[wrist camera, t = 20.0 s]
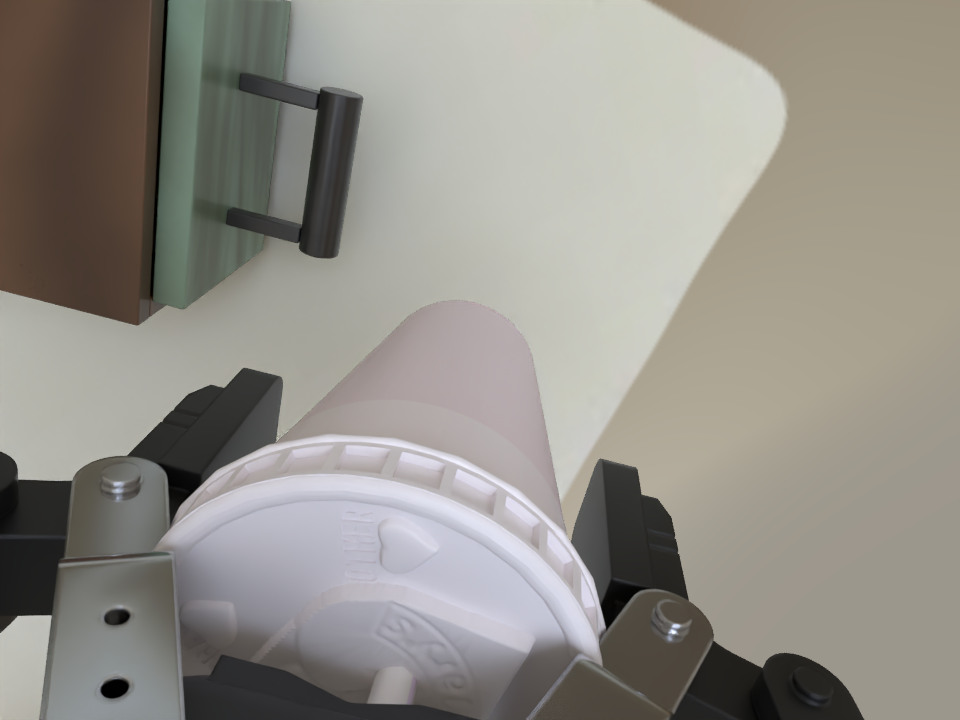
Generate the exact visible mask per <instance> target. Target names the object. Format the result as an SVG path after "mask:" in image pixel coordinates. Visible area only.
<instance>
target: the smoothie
mask: <svg viewBox="0 0 960 720" xmlns="http://www.w3.org/2000/svg"><path fill="white" fill-rule="evenodd" d="M166 550H175V555H176V570H177V587H178V604H179V621H180V638H181V655H182V672H183V676H196V675H210V674H211V673H212V671H213V669H214V667H215V665H216V663H217V661H218V660H219V658H220V656H221V654H222V655H226V656H230V657H234V658H238V659H242V660H246V661H250V662H254V663H258V664H261V665H265V666H269V667H273V668H277V669H281V670H285V671H288V672H290V673H292V674H294V675H296V676H297V677H299V678H301V679H303V680H305V681H307V682H309V683H311V684H313V685H315V686H317V687H319V688H321V689H323V690H325V691H327V692H328V693H330V694H332V695H334V696H336V697H338V698H340V699H342V700H344V701H347V702H351V703H365V704H406V705H424V706H428V707H432V708H436V709H439V710H443V711H447V712H451V713H455V714H459V715H463V716H467V717H471V718H475V719H479V720H526V719H527V718H528V716H529V715H530V714H531V713H532V711H533V710H534V709H535V707H536V706H537V705H538V704H539V702H540V701H541V700H542V699H543V697H544V696H545V695H546V693H547V692H548V691H549V690H550V688H551V687H552V686H553V685H554V683H555V682H556V681H557V680H558V678H559V677H560V676H561V674H562V673H563V672H564V671H565V669H566V668H567V667H568V666H569V664H570V663H571V662H572V660H573V659H574V658H575V657H576V656H577V655H578V654H579V653H582V654H584V655H585V656H587V657H588V658H590V659H591V660H593V661H594V662H596V663H597V664H599V665H600V666H602V667H603V664H602V657H601V652H600V648H599V640H600V639H601V637H602V636H603V635H604V633H605V632H606V626H605V622H604V618H603V614H602V610H601V606H600V602H599V598H598V595H597V591H596V587H595V583H594V579H593V577H592V575H591V574H590V572H589V571H588V569H587V567H586V566H585V564H584V563H583V561H582V559H581V558H580V556H579V554H578V553H577V551H576V550H575V548H574V546H573V545H572V543H571V541H570V540H569V538H568V537H567V533H566V527H565V524H564V519H563V515H562V510H561V505H560V499H559V494H558V489H557V484H556V478H555V473H554V468H553V462H552V457H551V452H550V447H549V441H548V436H547V431H546V426H545V420H544V415H543V410H542V404H541V399H540V394H539V389H538V383H537V378H536V373H535V367H534V362H533V358H532V354H531V351H530V348H529V346H528V344H527V342H526V340H525V339H524V337H523V335H522V334H521V333H520V331H519V330H518V329H517V328H516V327H515V326H514V324H513V323H511V322H510V321H509V320H508V319H507V318H505V317H504V316H503V315H501V314H500V313H498V312H497V311H495V310H493V309H491V308H489V307H486V306H484V305H481V304H477V303H474V302H468V301H443V302H438V303H434V304H430V305H428V306H425V307H423V308H421V309H419V310H417V311H415V312H414V313H413V314H411V315H410V316H409V317H407V318H406V319H405V320H404V321H403V322H402V323H401V324H400V325H399V326H398V327H397V328H396V329H395V330H394V331H393V332H391V333H390V334H389V335H388V336H387V337H386V338H385V339H384V340H383V341H382V342H381V343H380V344H379V345H378V346H377V347H376V348H375V349H374V350H373V351H372V352H371V353H370V354H369V355H368V356H367V357H365V358H364V359H363V360H362V361H361V362H360V363H359V364H358V365H357V366H356V367H355V368H354V369H353V370H352V371H351V372H350V373H349V374H348V375H347V376H346V377H345V378H344V379H343V380H342V381H341V382H340V383H338V384H337V385H336V386H335V387H334V388H333V389H332V390H331V391H330V392H329V393H328V394H327V395H326V396H325V397H324V398H323V399H322V400H321V401H320V402H319V403H318V404H317V405H316V406H315V407H314V408H312V409H311V410H310V411H309V412H308V413H307V414H306V415H305V416H304V417H303V418H302V419H301V420H300V421H299V422H298V423H297V424H296V425H295V426H294V427H293V428H292V429H291V430H289V431H288V432H287V433H286V434H285V435H284V436H282V437H281V438H280V439H279V440H278V441H277V442H276V443H274V444H269V445H266V446H264V447H262V448H260V449H258V450H256V451H254V452H252V453H250V454H248V455H246V456H244V457H242V458H240V459H238V460H236V461H234V462H232V463H230V464H228V465H226V466H224V467H222V468H220V469H218V470H216V471H215V472H214V473H213V474H212V475H211V476H210V477H209V478H208V479H207V480H206V481H205V482H204V483H203V484H202V485H201V486H200V487H199V488H198V489H197V490H196V491H195V492H194V493H193V494H192V495H191V496H190V497H188V498H187V499H186V500H185V501H184V502H183V503H182V504H181V505H180V507H179V509H178V511H177V513H176V515H175V517H174V519H173V521H172V523H171V525H170V530H169V531H168V532H167V533H166V534H165V535H164V536H163V537H162V539H161V540H160V541H159V543H158V544H157V546H156V547H155V548H154V550H153V551H166Z"/></svg>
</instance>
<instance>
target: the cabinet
mask: <svg viewBox="0 0 960 720" xmlns="http://www.w3.org/2000/svg"><path fill="white" fill-rule="evenodd" d="M164 1H165V0H0V290H2V291H6V292H9V293H13V294H17V295H21V296H25V297H29V298H33V299H37V300H40V301H44V302H48V303H52V304H56V305H60V306H64V307H67V308H71V309H75V310H79V311H83V312H87V313H91V314H94V315H98V316H102V317H106V318H110V319H114V320H118V321H122V322H125V323H129V324H133V325H140V324H141V323H142V322H144V321H145V320H147V319H148V318H149V317H150V316H152V315H153V314H155V313H156V312H157V311H159V310H160V309H162V308H163V307H164V306H166V305H164V304H160V303H156V302H153V285H154V265H155V253H153V254H152V243H153V222H154V202H155V182H156V162H157V142H158V122H159V101H160V81H161V61H162V41H163V21H164Z"/></svg>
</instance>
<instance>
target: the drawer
mask: <svg viewBox="0 0 960 720" xmlns="http://www.w3.org/2000/svg"><path fill="white" fill-rule="evenodd" d="M290 8H291V2H290V1H286V0H165V1H164V21H163V41H162V61H161V81H160V101H159V122H158V142H157V162H156V182H155V202H154V222H153V243H152V254H153V253H155V265H154V285H153V302H156V303H160V304H164V305H168V306H172V307H175V308H179V309H185V308H187V307H188V306H189V305H191V304H192V303H193V302H195V301H196V300H197V299H199V298H200V297H201V296H203V295H204V294H205V293H206V292H208V291H209V290H210V289H212V288H213V287H214V286H216V285H217V284H218V283H220V282H221V281H222V280H224V279H225V278H226V277H228V276H229V275H230V274H231V273H233V272H234V271H235V270H237V269H238V268H239V267H241V266H242V265H243V264H245V263H246V262H247V261H249V260H250V259H251V258H252V257H254V256H255V255H256V254H258V253H259V252H260V251H262V250H263V243H264V235H267V236H271V237H275V238H279V239H283V240H287V241H291V242H294V243H299V242H300V243H299V249H300V251H301V252H303V253H305V254H307V255H309V256H313V257H317V258H334V257H336V256H337V255H338V253H339V246H340V240H341V234H342V228H343V221H344V215H345V209H346V203H347V196H348V190H349V184H350V178H351V171H352V165H353V159H354V153H355V146H356V140H357V134H358V128H359V121H360V115H361V109H362V102H363V97H362V96H361V95H359V94H357V93H354V92H351V91H348V90H344V89H339V88H333V87H322V88H321V89H320V91H317V90H313V89H309V88H305V87H301V86H297V85H294V84H290V83H286V82H282V78H283V69H284V60H285V52H286V43H287V34H288V26H289V17H290ZM280 101H282V102H286V103H290V104H293V105H297V106H301V107H305V108H309V109H313V110H317V109H318V111H317V118H316V126H315V133H314V140H313V148H312V155H311V162H310V170H309V177H308V185H307V192H306V199H305V207H304V214H303V221H302V225H301V224H297V223H293V222H290V221H286V220H282V219H278V218H274V217H270V216H267V208H268V200H269V191H270V182H271V174H272V165H273V156H274V147H275V139H276V130H277V121H278V113H279V104H280Z"/></svg>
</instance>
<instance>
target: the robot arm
mask: <svg viewBox="0 0 960 720" xmlns="http://www.w3.org/2000/svg"><path fill="white" fill-rule="evenodd" d="M282 389H283V380H282V378H281V377H280V376H276V375H272V374H268V373H264V372H260V371H256V370H252V369H248V368H243V369H242V370H241V371H240V372H239V373H238V374H237V375H236V376H235V377H234V378H233V379H232V381H231V382H230V383H229V384H228V385H227V386H226V387H225V388H222V387H218V386H214V385H209V386H207V387H204V388H202V389H200V390H197V391H195V392H192V393H190V394H188V395H187V396H186V397H185V398H184V399H183V400H182V401H181V402H180V403H179V404H178V405H177V406H176V407H175V409H174V411H171V412H170V413H169V414H168V415H167V416H166V417H165V418H164V420H163V422H160V423H159V424H158V425H157V426H156V427H155V428H154V429H153V430H152V431H151V432H150V433H149V434H148V435H147V436H146V437H145V438H144V439H143V440H142V441H141V442H140V443H139V444H138V445H137V446H136V447H135V448H134V449H133V450H132V451H131V452H130V453H129V454H128V455H127V456H115V457H108V458H103V459H100V460H97V461H94V462H91V463H89V464H88V465H86V466H84V467H83V468H81V469H80V470H79V471H78V472H77V473H76V474H75V476H74V478H73V481H40V480H18V469H17V464H16V463H15V461H14V460H13V459H12V458H11V457H10V456H8V455H7V454H5V453H2V452H0V633H1V632H2V631H3V630H4V629H5V628H6V627H7V626H8V625H9V624H11V623H12V622H13V621H14V620H15V618H16V617H17V616H28V615H52V619H51V628H50V636H49V644H48V653H47V661H46V669H45V677H44V686H43V694H42V702H41V710H40V719H39V720H479V719H475V718H471V717H467V716H463V715H459V714H455V713H451V712H447V711H443V710H439V709H436V708H432V707H428V706H424V705H406V704H365V703H351V702H347V701H344V700H342V699H340V698H338V697H336V696H334V695H332V694H330V693H328V692H327V691H325V690H323V689H321V688H319V687H317V686H315V685H313V684H311V683H309V682H307V681H305V680H303V679H301V678H299V677H297V676H296V675H294V674H292V673H290V672H288V671H285V670H281V669H277V668H273V667H269V666H265V665H261V664H258V663H254V662H250V661H246V660H242V659H238V658H234V657H230V656H226V655H222V654H221V656H220V658H219V660H218V661H217V663H216V665H215V667H214V669H213V671H212V673H211V674H210V675H196V676H183V672H182V655H181V638H180V621H179V604H178V587H177V570H176V555H175V550H166V551H153V550H154V548H155V547H156V546H157V544H158V543H159V541H160V540H161V539H162V537H163V536H164V535H165V534H166V533H167V532H168V531H169V530H170V525H171V523H172V521H173V519H174V517H175V515H176V513H177V511H178V509H179V507H180V505H181V504H182V503H183V502H184V501H185V500H186V499H187V498H188V497H190V496H191V495H192V494H193V493H194V492H195V491H196V490H197V489H198V488H199V487H200V486H201V485H202V484H203V483H204V482H205V481H206V480H207V479H208V478H209V477H210V476H211V475H212V474H213V473H214V472H215V471H216V470H218V469H220V468H222V467H224V466H226V465H228V464H230V463H232V462H234V461H236V460H238V459H240V458H242V457H244V456H246V455H248V454H250V453H252V452H254V451H256V450H258V449H260V448H262V447H264V446H266V445H269V444H274V443H275V442H276V435H277V427H278V419H279V412H280V404H281V397H282ZM571 543H572V545H573V546H574V548H575V550H576V551H577V553H578V554H579V556H580V558H581V559H582V561H583V563H584V564H585V566H586V567H587V569H588V571H589V572H590V574H591V575H592V577H593V579H594V583H595V587H596V591H597V595H598V598H599V602H600V606H601V610H602V614H603V618H604V622H605V626H606V632H605V633H604V635H603V636H602V637H601V639H600V640H599V648H600V652H601V657H602V664H603V667H602V666H600V665H599V664H597V663H596V662H594V661H593V660H591V659H590V658H588V657H587V656H585V655H584V654H582V653H579V654H578V655H577V656H576V657H575V658H574V659H573V660H572V662H571V663H570V664H569V666H568V667H567V668H566V669H565V671H564V672H563V673H562V674H561V676H560V677H559V678H558V680H557V681H556V682H555V683H554V685H553V686H552V687H551V688H550V690H549V691H548V692H547V693H546V695H545V696H544V697H543V699H542V700H541V701H540V702H539V704H538V705H537V706H536V707H535V709H534V710H533V711H532V713H531V714H530V715H529V716H528V718H527V719H526V720H864V719H863V717H862V715H861V713H860V711H859V709H858V707H857V705H856V703H855V701H854V700H853V698H852V696H851V694H850V693H849V691H848V690H847V688H846V687H845V686H844V685H843V683H842V682H841V681H840V680H839V679H838V678H837V677H836V676H834V675H833V674H832V673H831V672H830V671H828V670H827V669H826V668H824V667H823V666H821V665H820V664H818V663H816V662H814V661H812V660H810V659H808V658H805V657H802V656H799V655H796V654H790V653H779V654H775V655H773V656H771V657H770V658H769V659H768V660H767V661H766V663H765V665H764V667H763V668H761V667H759V666H757V665H755V664H753V663H751V662H749V661H747V660H745V659H743V658H741V657H739V656H737V655H735V654H733V653H731V652H730V651H728V650H726V649H724V648H723V647H721V646H720V645H718V644H717V643H716V642H715V641H713V638H714V634H713V629H712V627H711V624H710V622H709V621H708V619H707V618H706V616H705V615H704V614H703V613H702V612H701V611H700V610H699V609H698V608H697V607H696V606H695V605H694V604H692V603H691V602H689V599H688V595H687V591H686V585H685V580H684V575H683V571H682V567H681V561H680V556H679V554H678V547H677V542H676V539H675V532H674V528H673V523H672V518H671V516H670V515H669V514H668V512H667V511H666V510H665V508H664V507H663V505H662V504H661V503H660V501H659V500H658V499H656V498H653V497H649V496H645V495H641V489H640V483H639V476H638V470H637V469H636V467H632V466H628V465H624V464H620V463H616V462H612V461H608V460H604V459H599V460H598V462H597V464H596V466H595V468H594V471H593V474H592V477H591V480H590V483H589V486H588V488H587V491H586V494H585V497H584V500H583V503H582V505H581V508H580V511H579V514H578V517H577V520H576V523H575V527H574V530H573V534H572V540H571Z"/></svg>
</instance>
